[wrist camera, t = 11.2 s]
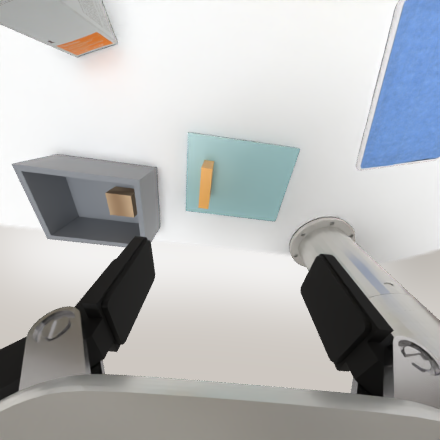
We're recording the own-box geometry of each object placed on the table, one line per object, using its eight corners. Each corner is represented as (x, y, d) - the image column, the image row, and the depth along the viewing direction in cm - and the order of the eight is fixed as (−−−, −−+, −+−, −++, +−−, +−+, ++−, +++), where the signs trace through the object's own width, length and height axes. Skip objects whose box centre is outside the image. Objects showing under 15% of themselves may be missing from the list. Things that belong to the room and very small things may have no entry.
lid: (296, 147, 27) (315, 154, 22) (273, 217, 34) (283, 237, 28) (189, 131, 26) (180, 135, 21) (187, 207, 33) (179, 225, 27)
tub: (156, 167, 29) (139, 180, 23) (160, 226, 35) (147, 249, 29) (57, 154, 28) (11, 164, 22) (78, 217, 34) (47, 238, 28)
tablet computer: (433, 159, 28) (442, 160, 27) (351, 170, 29) (356, 172, 28) (519, -28, 18) (539, -38, 17) (392, -1, 19) (402, -8, 18)
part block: (138, 189, 30) (130, 195, 27) (141, 209, 32) (134, 217, 29) (115, 186, 30) (105, 192, 27) (119, 206, 32) (110, 214, 29)
